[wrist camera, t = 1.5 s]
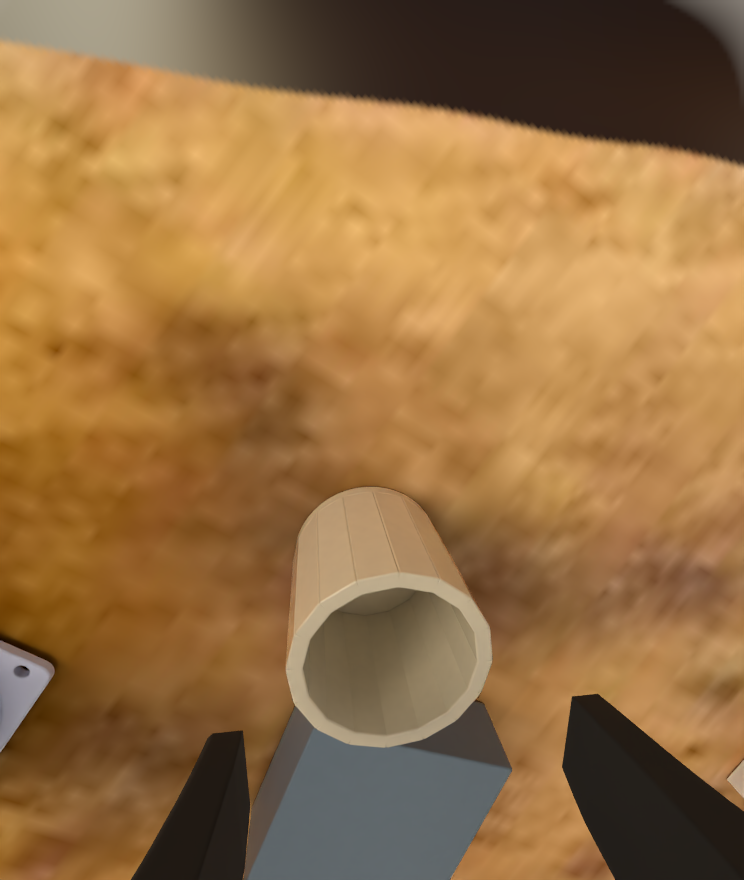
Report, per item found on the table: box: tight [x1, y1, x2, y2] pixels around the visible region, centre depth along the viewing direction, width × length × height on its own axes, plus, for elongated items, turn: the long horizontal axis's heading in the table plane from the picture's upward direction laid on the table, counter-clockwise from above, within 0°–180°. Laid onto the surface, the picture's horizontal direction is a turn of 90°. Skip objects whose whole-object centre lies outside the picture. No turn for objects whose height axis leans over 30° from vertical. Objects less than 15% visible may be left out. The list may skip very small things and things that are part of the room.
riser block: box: [243, 701, 512, 880], centre depth 20 cm, size 8×8×3 cm
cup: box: [286, 487, 493, 748], centre depth 16 cm, size 6×6×6 cm
